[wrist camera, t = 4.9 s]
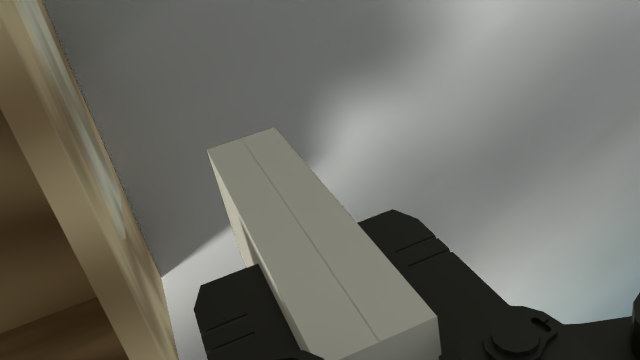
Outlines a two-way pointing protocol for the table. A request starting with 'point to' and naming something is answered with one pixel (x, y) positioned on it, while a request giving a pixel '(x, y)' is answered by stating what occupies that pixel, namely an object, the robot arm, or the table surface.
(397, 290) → the robot arm
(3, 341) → the open wooden box
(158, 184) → the table surface
